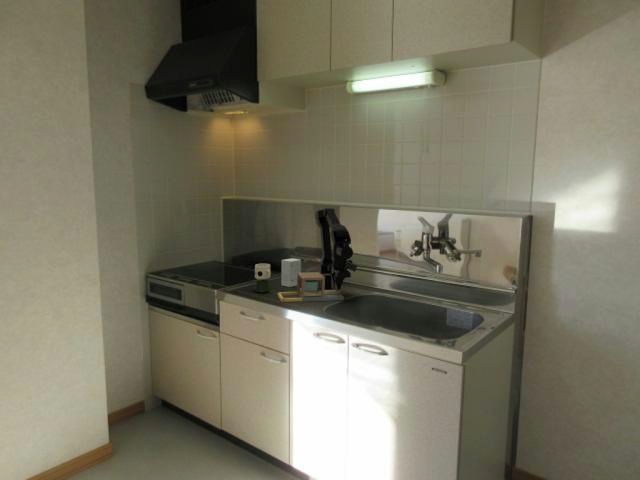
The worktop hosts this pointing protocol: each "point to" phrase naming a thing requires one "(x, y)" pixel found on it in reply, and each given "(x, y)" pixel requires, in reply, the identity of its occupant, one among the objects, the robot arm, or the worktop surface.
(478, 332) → the worktop surface
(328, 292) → the sled
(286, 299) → the tunnel track
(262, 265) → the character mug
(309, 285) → the block
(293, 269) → the small box
